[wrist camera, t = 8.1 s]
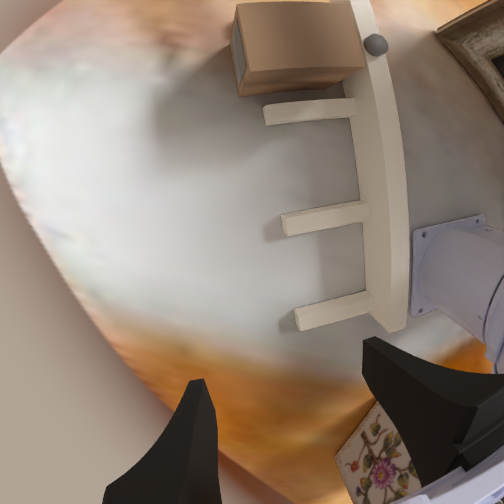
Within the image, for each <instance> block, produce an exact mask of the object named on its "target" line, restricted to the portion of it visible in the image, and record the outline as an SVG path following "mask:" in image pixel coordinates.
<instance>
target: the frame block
mask: <svg viewBox="0 0 504 504" xmlns="http://www.w3.org/2000/svg"><path fill="white" fill-rule="evenodd" d="M230 50H231V55H232V60H233V66H234V71H235V77H236V83H237V88H238V94H239V97H243V96H251V95H259V94H268V93H277V92H288V91H301V90H318V89H327V88H329V87H330V86H332V85H334V84H336V83H337V82H339V81H341V80H343V79H345V78H346V77H348V76H350V75H352V74H354V73H356V72H357V71H359V70H361V69H363V68H365V64H364V60H363V55H362V51H361V47H360V43H359V40H358V36H357V32H356V28H355V25H354V21H353V18H352V15H351V11H350V8H349V5H348V4H338V3H324V2H257V3H243V4H237V6H236V12H235V17H234V22H233V27H232V33H231V39H230Z"/></svg>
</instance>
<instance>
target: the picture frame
mask: <svg viewBox="0 0 504 504" xmlns="http://www.w3.org/2000/svg"><path fill="white" fill-rule="evenodd" d="M436 36H437V37H438V38H439V39H440V40H441V41H442V42H443V43H444V44H445V45H446V46H447V48H448V49H449V50H450V51H451V52H452V53H453V54H454V55H455V57H456V58H457V59H458V60H459V61H460V62H461V64H462V65H463V66H464V67H465V68H466V70H467V71H468V72H469V73H470V75H471V76H472V77H473V78H474V80H475V81H476V82H477V84H478V85H479V86H480V88H481V89H482V90H483V92H484V93H485V94H486V96H487V97H488V99H489V100H490V102H491V103H492V104H493V106H494V107H495V109H496V110H497V112H498V113H499V115H500V116H501V118H502V120H503V121H504V0H488V1H486V2H484V3H482V4H480V5H479V6H477V7H475V8H473V9H471V10H469V11H467V12H466V13H464V14H462V15H460V16H459V17H457V18H455V19H453V20H452V21H450V22H448V23H446V24H445V25H443V26H441V27H440V28H438V29H437V32H436Z"/></svg>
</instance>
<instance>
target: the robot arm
mask: <svg viewBox="0 0 504 504" xmlns="http://www.w3.org/2000/svg"><path fill="white" fill-rule="evenodd" d="M423 232H424V235H423V236H422V234H423ZM420 309H421V310H420ZM435 309H439V310H440V311H442V312H443V313H444V314H446V315H447V316H448V317H450V318H451V319H452V320H454V321H455V322H456V323H458V324H459V325H460V326H461V327H463V328H464V329H465V330H467V331H468V332H469V333H471V334H472V335H473V336H474V337H476V338H477V339H478V340H480V341H481V342H482V343H483V344H485V345H486V346H487V349H486V353H485V357H486V358H488V359H489V360H490V361H491V362H492V363H493V364H494V365H493V367H492V374H482V373H471V372H464V371H459V370H454V369H450V368H446V367H443V366H439V365H436V364H433V363H430V362H428V361H425V360H423V359H420V358H418V357H415V356H413V355H411V354H409V353H407V352H405V351H403V350H401V349H399V348H397V347H395V346H393V345H391V344H389V343H387V342H385V341H383V340H381V339H379V338H377V337H375V336H374V337H371V338H368V339H365V340H363V361H362V375H363V377H364V379H365V381H366V383H367V385H368V387H369V389H370V391H371V392H372V394H373V395H374V396H375V398H376V399H377V401H378V402H379V404H380V405H381V407H382V408H383V409H384V411H385V412H386V414H387V415H388V417H389V418H390V420H391V421H392V422H393V424H394V426H395V427H396V429H397V431H398V433H399V435H400V437H401V439H402V441H403V443H404V445H405V447H406V449H407V451H408V454H409V456H410V458H411V460H412V463H413V465H414V468H415V470H416V473H417V475H418V478H419V481H420V484H421V487H422V488H421V489H419V490H417V491H415V492H413V493H411V494H409V495H407V496H405V497H403V498H401V499H399V500H396V501H394V502H392V503H390V504H495V503H496V502H498V501H499V500H500V499H501V498H502V497H504V232H503V231H500V230H498V229H495V228H492V227H489V226H486V216H485V215H483V214H481V215H476V216H472V217H468V218H463V219H459V220H455V221H450V222H446V223H442V224H437V225H433V226H429V227H424V228H420V229H416V230H415V231H414V233H413V271H412V296H411V311H410V313H411V315H412V316H413V317H417V316H420V315H422V314H425V313H428V312H430V311H433V310H435ZM419 310H420V311H419ZM102 504H222V500H221V493H220V486H219V479H218V428H217V420H216V413H215V408H214V406H213V403H212V400H211V397H210V395H209V392H208V389H207V386H206V384H205V381H204V379H197V380H191V381H189V383H188V385H187V387H186V390H185V392H184V394H183V397H182V399H181V401H180V403H179V405H178V407H177V409H176V411H175V413H174V415H173V416H172V418H171V420H170V421H169V423H168V425H167V426H166V428H165V430H164V431H163V433H162V434H161V436H160V437H159V438H158V440H157V441H156V442H155V444H154V445H153V446H152V447H151V448H150V450H149V451H148V452H147V453H146V454H145V455H144V457H142V459H141V460H140V461H138V462H137V463H136V464H135V465H134V466H133V467H132V468H131V469H130V470H128V471H127V472H126V473H125V474H124V475H122V476H121V477H119V478H118V479H117V480H115V481H114V482H112V483H111V484H109V485H108V486H107V487H106V490H105V493H104V497H103V503H102Z"/></svg>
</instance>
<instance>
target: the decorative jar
mask: <svg viewBox="0 0 504 504" xmlns="http://www.w3.org/2000/svg"><path fill="white" fill-rule="evenodd" d="M334 458H335V461H336V463H337V466H338V468H339V471H340V473H341V476H342V479H343V481H344V483H345V486H346V488H347V491H348V493H349V495H350V497H351V500H352V502H353V504H390V503H392V502H394V501H396V500H399V499H401V498H403V497H405V496H407V495H409V494H411V493H413V492H415V491H417V490H419V489H421V488H422V487H421V484H420V481H419V478H418V475H417V473H416V470H415V468H414V465H413V463H412V460H411V458H410V456H409V454H408V451H407V449H406V447H405V445H404V443H403V441H402V439H401V437H400V435H399V433H398V431H397V429H396V427H395V426H394V424H393V422H392V421H391V420H390V418H389V417H388V415H387V414H386V412H385V411H384V409H383V408H382V407H381V405H380V404H379V402H378V401H376V403H375V404H374V405H373V407H372V408H371V409H370V411H369V412H368V414H367V415H366V417H365V418H364V419H363V420H362V422H361V423H360V425H359V426H358V427H357V429H356V430H355V431H354V432H353V433H352V435H351V436H350V437H349V438H348V440H347V441H346V442H345V444H344V445H343V446H342V447H341V449H340V450H339V451H338V452H337V453H336V455H335V457H334Z"/></svg>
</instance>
